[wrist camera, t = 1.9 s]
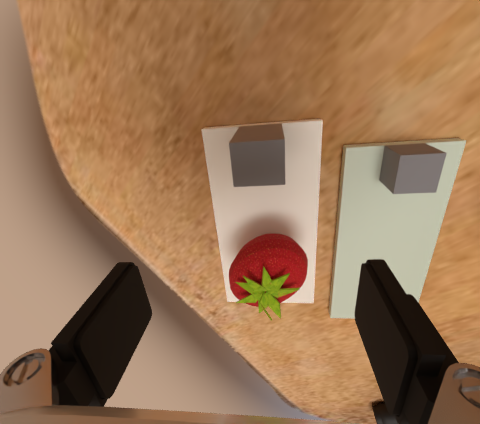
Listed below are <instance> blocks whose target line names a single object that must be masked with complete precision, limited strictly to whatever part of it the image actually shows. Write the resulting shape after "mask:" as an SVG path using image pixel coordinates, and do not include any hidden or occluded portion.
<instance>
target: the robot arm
mask: <svg viewBox="0 0 480 424" xmlns="http://www.w3.org/2000/svg"><path fill="white" fill-rule="evenodd" d="M151 316H152V310H151V306H150V303H149V300H148V297H147V294H146V291H145V288H144V284H143V281H142V278H141V275H140V272H139V269H138V267H137V266H135V265H134V263H132V262H119V263H117V264H116V266H115V267H114V268H113V269H112V270H111V272H110V273H109V274H108V275H107V276H106V278H105V279H104V280H103V281H102V282H101V284H100V285H99V286H98V287H97V288H96V290H95V291H94V292H93V293H92V295H91V296H90V297H89V298H88V299H87V300H86V302H85V303H84V304H83V305H82V306H81V308H80V309H79V310H78V311H77V312H76V314H75V315H74V316H73V317H72V318H71V320H70V321H69V322H68V323H67V324H66V326H65V327H64V328H63V329H62V330H61V332H60V333H59V334H58V335H57V336H56V338H55V339H54V340H53V341H52V343H51V344H52V345H53V346H52V347H51V348H50V350H49V351H48V350H47V349H34V350H31V351H29V352H26V353H24V354H23V355H21V356H19V357H18V358H16V359H15V360H14V361H12V362H11V363H10V364H9V365H8V366H7V367H6V368H5V369H4V370H3V372H2V373H1V374H0V424H357V423H346V422H334V421H320V420H306V419H305V420H304V419H290V418H277V417H263V416H248V415H232V414H216V413H201V412H200V413H199V412H184V411H168V410H151V409H150V410H149V409H134V408H133V409H132V408H116V407H104V405H105V403H106V401H107V399H108V398H110V397H111V396H112V395H113V393H114V392H115V389H116V387H117V386H118V384H119V381H120V380H121V378H122V375H123V373H124V372H125V370H126V367H127V366H128V363H129V361H130V359H131V357H132V355H133V353H134V351H135V349H136V347H137V345H138V343H139V341H140V339H141V337H142V335H143V333H144V331H145V329H146V327H147V325H148V323H149V321H150V319H151ZM355 321H356V324H357V327H358V330H359V333H360V335H361V338H362V341H363V344H364V347H365V349H366V352H367V355H368V358H369V360H370V363H371V366H372V369H373V372H374V374H375V377H376V380H377V383H378V386H379V388H380V391H381V394H382V397H383V399H384V402H385V405H386V408H387V410H388V412H389V414H390V415H395V418H396V420H397V423H398V424H480V367H477V366H475V365H472V364H467V363H459V362H458V361H457V359H456V358H455V356H454V355H453V353H452V352H451V350H450V349H449V348H448V346H447V345H446V343H445V342H444V340H443V339H442V337H441V336H440V334H439V333H438V331H437V330H436V328H435V327H434V325H433V324H432V322H431V321H430V319H429V318H428V316H427V315H426V313H425V312H424V310H423V309H422V307H421V306H420V304H419V303H418V302H417V300H416V299H415V298H414V296H413V295H411V294H406V293H405V291H404V289H403V288H402V286H401V285H400V283H399V282H398V280H397V279H396V277H395V276H394V274H393V272H392V271H391V269H390V268H389V266H388V265H387V263H386V262H385V260H383V259H368V260H367V261H366V263H362V265H361V270H360V278H359V285H358V292H357V299H356V306H355Z"/></svg>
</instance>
